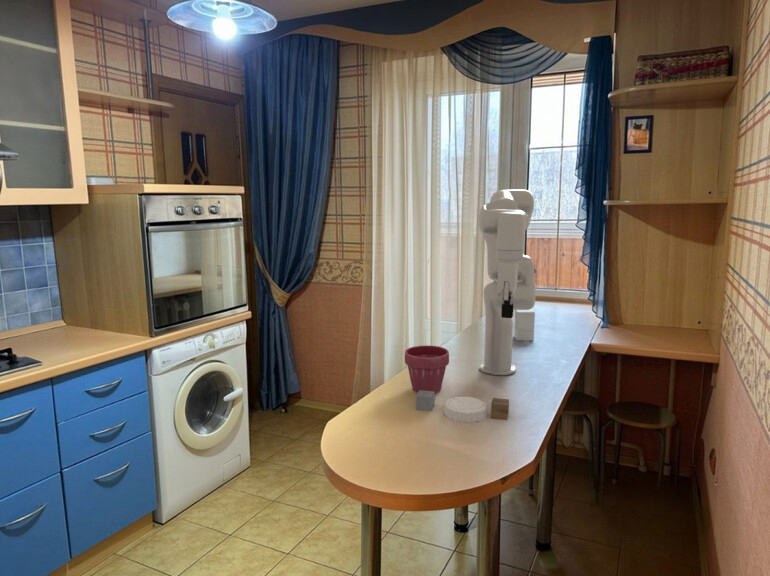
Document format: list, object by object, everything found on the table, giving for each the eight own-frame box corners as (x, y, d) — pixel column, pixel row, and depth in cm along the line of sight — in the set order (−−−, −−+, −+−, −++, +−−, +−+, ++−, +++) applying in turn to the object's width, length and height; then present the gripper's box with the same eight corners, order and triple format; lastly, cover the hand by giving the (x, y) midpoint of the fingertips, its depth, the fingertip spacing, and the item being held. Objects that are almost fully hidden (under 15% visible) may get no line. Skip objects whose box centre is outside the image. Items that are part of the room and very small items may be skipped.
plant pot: (397, 384, 179) (397, 347, 177) (436, 379, 184) (436, 343, 182) (415, 400, 166) (415, 359, 164) (456, 394, 171) (457, 354, 169)
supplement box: (531, 336, 239) (532, 308, 237) (533, 341, 232) (535, 312, 229) (513, 336, 240) (515, 308, 237) (516, 340, 232) (517, 311, 230)
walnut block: (492, 412, 157) (493, 397, 156) (508, 414, 155) (509, 399, 154) (490, 418, 152) (491, 403, 152) (507, 420, 151) (507, 405, 150)
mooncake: (458, 403, 164) (459, 391, 163) (494, 413, 156) (494, 401, 156) (436, 415, 155) (436, 403, 154) (473, 427, 147) (473, 414, 147)
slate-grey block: (419, 404, 163) (419, 390, 162) (434, 406, 161) (434, 391, 161) (415, 410, 158) (416, 395, 158) (431, 411, 157) (431, 397, 156)
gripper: (499, 251, 165) (497, 310, 169) (492, 258, 151) (490, 322, 155) (524, 252, 163) (522, 312, 166) (520, 259, 149) (517, 324, 152)
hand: (507, 317), depth 161 cm, fingers closed
